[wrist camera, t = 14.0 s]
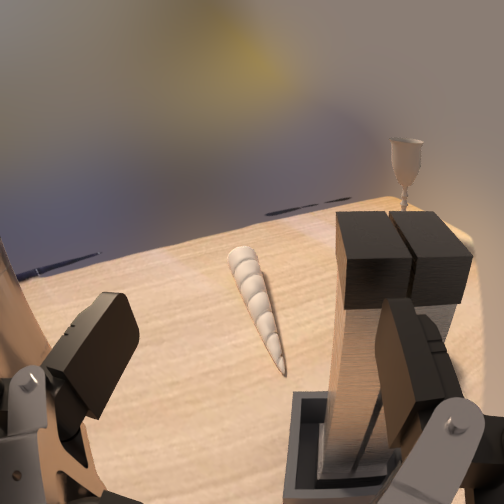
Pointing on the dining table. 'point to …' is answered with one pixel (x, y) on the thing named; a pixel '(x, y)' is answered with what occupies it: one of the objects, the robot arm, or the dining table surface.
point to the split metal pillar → (366, 323)
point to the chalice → (406, 163)
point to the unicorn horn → (256, 298)
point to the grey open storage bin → (305, 455)
